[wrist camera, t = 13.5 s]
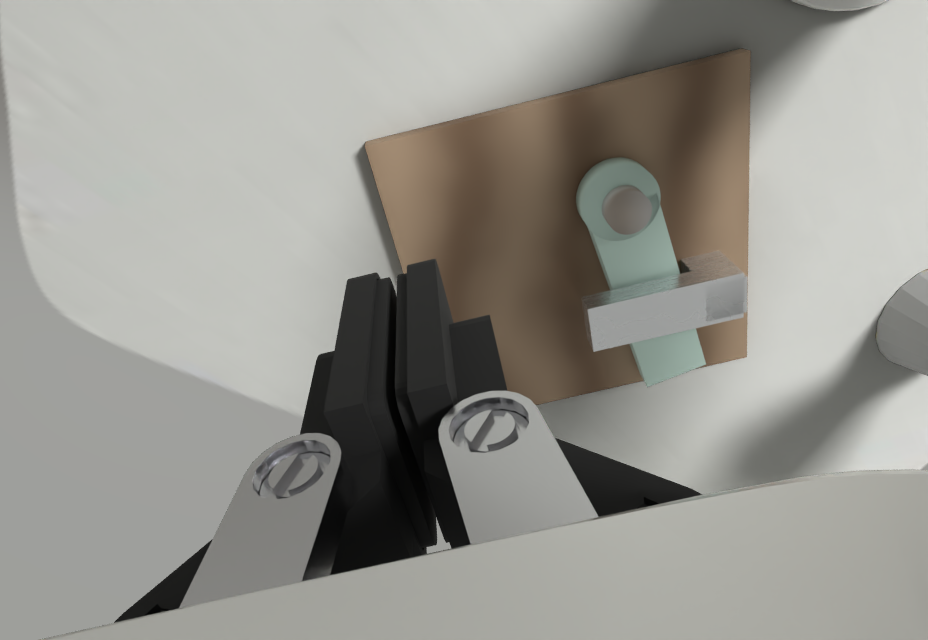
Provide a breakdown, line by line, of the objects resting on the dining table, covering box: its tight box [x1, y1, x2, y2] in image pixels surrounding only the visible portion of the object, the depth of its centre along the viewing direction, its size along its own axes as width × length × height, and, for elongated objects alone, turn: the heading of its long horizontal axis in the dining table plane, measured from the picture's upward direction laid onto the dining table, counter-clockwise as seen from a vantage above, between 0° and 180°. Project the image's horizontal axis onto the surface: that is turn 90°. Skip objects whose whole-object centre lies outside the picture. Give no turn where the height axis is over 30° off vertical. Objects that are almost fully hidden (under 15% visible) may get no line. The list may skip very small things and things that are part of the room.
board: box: [365, 48, 751, 405], centre depth 37 cm, size 21×20×4 cm
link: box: [576, 157, 706, 387], centre depth 38 cm, size 15×4×2 cm, turn 24°
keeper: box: [581, 250, 747, 352], centre depth 38 cm, size 9×3×4 cm, turn 103°
